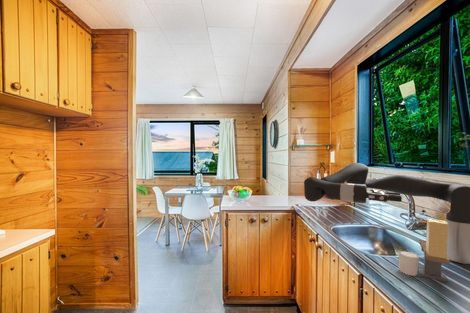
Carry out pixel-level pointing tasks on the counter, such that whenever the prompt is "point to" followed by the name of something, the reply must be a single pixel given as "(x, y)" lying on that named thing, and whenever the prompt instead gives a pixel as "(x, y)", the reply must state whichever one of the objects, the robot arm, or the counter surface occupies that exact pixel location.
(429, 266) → the beam stand
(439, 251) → the block
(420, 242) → the beam
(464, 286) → the counter surface
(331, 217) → the counter surface
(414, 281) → the counter surface
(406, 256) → the beige short cylinder
